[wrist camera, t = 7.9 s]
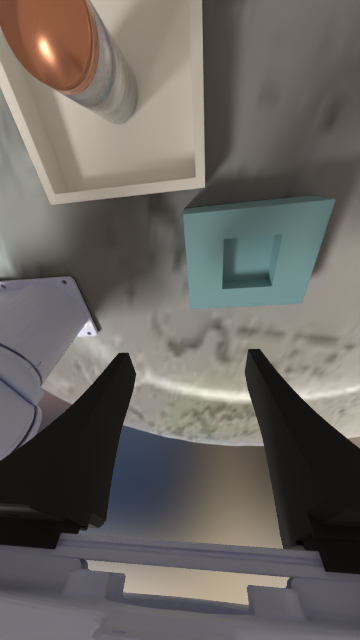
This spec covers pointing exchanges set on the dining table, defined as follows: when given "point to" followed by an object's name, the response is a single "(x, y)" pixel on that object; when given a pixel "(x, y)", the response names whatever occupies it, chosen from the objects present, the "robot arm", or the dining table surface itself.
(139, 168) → the tray
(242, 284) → the teal socket block
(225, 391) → the dining table surface
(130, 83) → the copper-capped cylinder
